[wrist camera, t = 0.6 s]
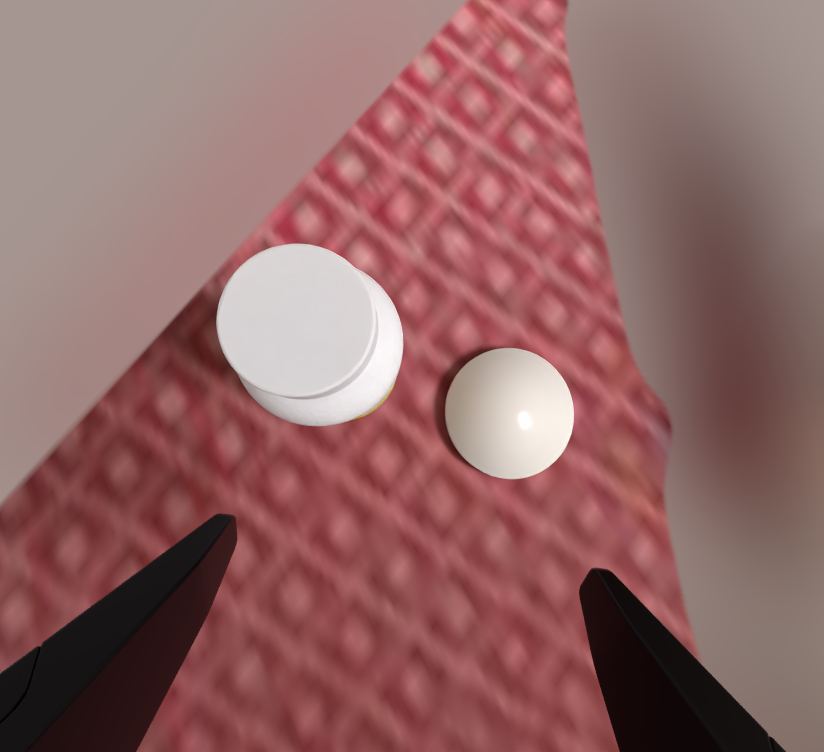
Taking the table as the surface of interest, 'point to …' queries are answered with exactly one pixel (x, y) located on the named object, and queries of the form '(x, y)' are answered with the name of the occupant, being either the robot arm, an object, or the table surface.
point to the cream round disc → (509, 413)
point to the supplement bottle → (310, 335)
